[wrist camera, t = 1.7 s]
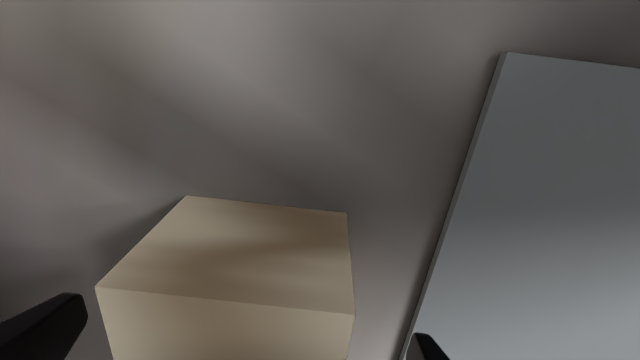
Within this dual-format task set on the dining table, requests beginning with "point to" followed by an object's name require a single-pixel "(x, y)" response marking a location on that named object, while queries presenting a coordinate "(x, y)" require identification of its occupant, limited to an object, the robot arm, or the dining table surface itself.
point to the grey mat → (543, 220)
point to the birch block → (233, 285)
